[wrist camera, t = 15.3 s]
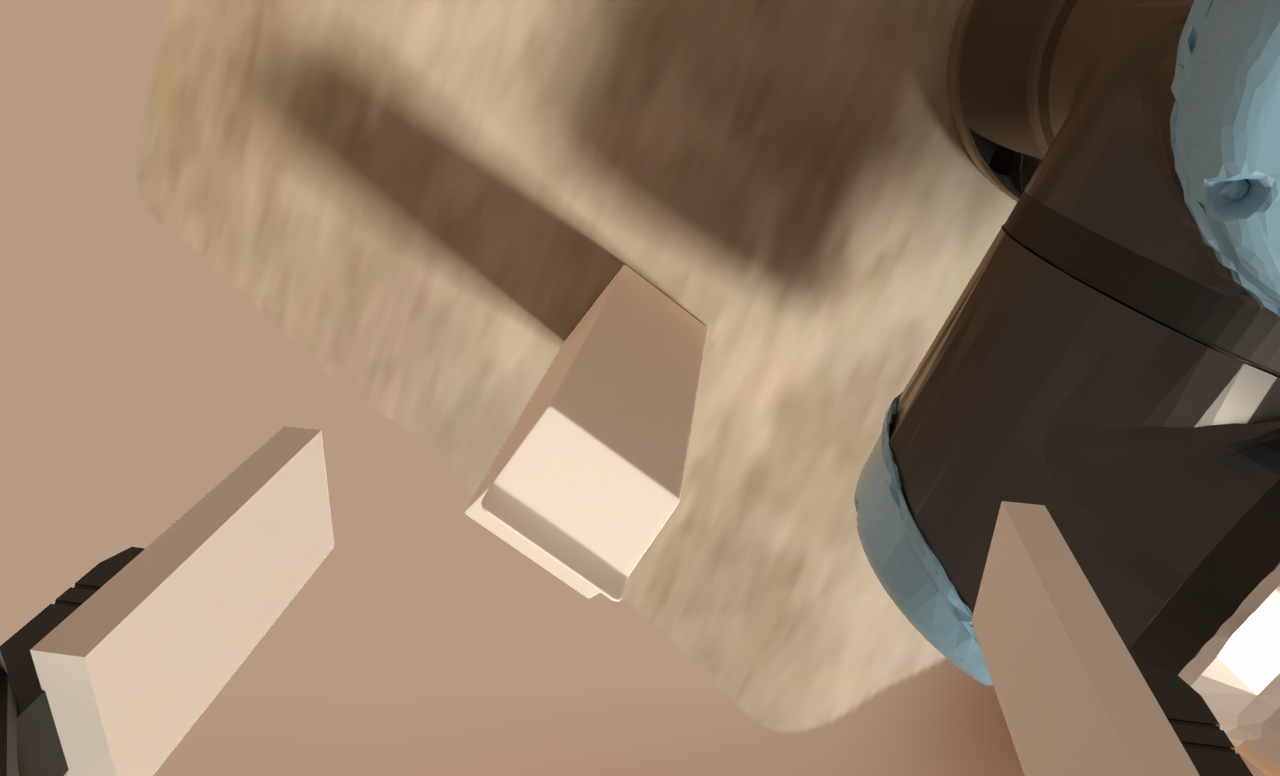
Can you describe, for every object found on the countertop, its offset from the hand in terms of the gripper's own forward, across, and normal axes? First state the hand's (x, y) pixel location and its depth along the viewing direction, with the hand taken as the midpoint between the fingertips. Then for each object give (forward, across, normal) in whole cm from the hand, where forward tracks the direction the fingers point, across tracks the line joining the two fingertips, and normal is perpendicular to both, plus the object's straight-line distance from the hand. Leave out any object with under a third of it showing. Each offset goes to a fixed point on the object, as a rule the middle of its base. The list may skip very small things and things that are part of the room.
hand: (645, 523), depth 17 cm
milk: (+32, +4, +8) cm, 33 cm away
